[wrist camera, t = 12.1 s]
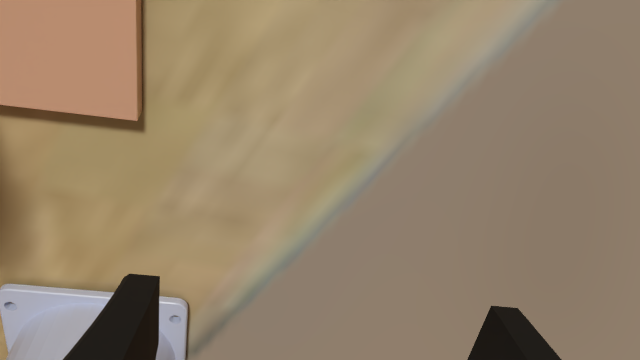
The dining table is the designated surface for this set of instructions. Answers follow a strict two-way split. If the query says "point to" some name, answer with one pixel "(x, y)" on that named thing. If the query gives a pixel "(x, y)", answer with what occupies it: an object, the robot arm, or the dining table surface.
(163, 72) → the dining table surface
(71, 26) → the coaster
